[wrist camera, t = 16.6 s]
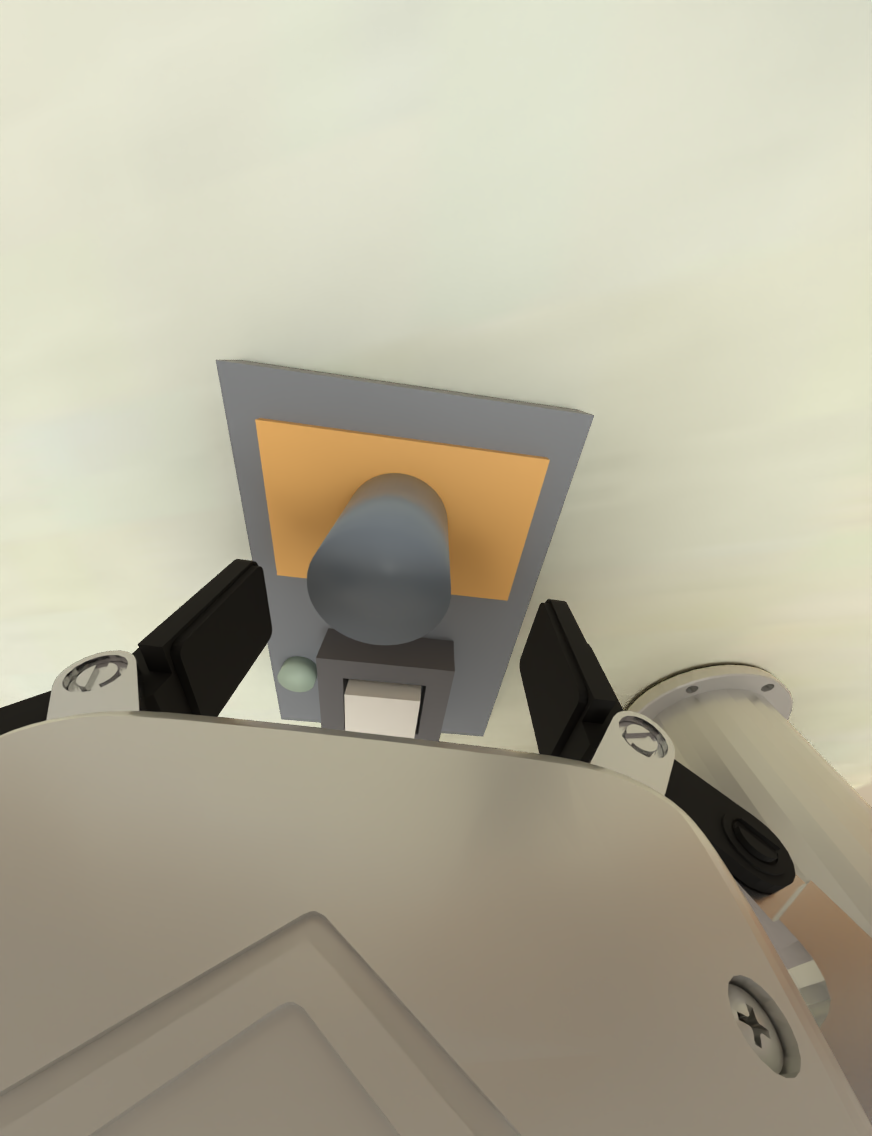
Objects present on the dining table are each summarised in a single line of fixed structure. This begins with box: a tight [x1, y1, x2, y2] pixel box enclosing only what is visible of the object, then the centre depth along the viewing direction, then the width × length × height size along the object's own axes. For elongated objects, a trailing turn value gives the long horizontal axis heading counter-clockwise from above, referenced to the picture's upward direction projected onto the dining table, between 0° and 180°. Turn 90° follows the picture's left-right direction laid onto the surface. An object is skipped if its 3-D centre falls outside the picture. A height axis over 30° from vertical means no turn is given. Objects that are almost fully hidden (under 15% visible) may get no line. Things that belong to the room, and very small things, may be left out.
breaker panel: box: [216, 360, 594, 741], centre depth 20 cm, size 24×16×4 cm, turn 173°
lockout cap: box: [307, 473, 451, 645], centre depth 14 cm, size 5×5×6 cm
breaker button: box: [344, 679, 421, 738], centre depth 22 cm, size 4×4×3 cm
